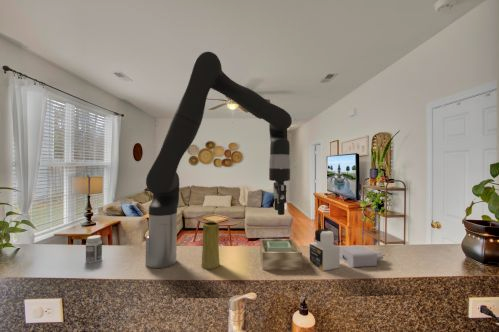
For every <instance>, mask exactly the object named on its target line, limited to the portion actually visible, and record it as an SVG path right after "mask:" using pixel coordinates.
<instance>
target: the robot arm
mask: <svg viewBox="0 0 499 332" xmlns="http://www.w3.org/2000/svg"><path fill="white" fill-rule="evenodd" d="M222 69H223V67H222V63H221V60H220V59H219V56H217V54H216V53H214V52H212V51H205V52H201V53H200V54H199V55H198V56H197V57H196V58H195V60H194V62H193V67H192V69H191V73H190V77H189V80H188V83H187V86H186V88H185V91H184V93H183V95H182V97H181V99H180V101H179V104H178V106H177V108H176V111H175V113H174V115H173V117H172V120H171V122H170V125H169V128H168V130H167V133H166V135H165V138H164V140H163V142H162V146H161V148H160V151H159V153H158V155H157V157H156V158H155V160H154V162H153V164H152V166H151V168H150V169H149V171H148V173H147V175H146V179H145V185H146V188H147V190H148V191H149V192H150V193H151V194H152V200H151V202H150V204H149V206H148V235H147V236H146V238H145V267H150V268H153V269H164V268H167V267H171V266H173V265H174V264H176V262H177V249H178V248H177V247H178V245H177V244H178V243H177V238H178V237H177V236H178V207H179V206H178V205H179V201H180V177H179V173H178V172H177V170H178V167H179V164H180V162H181V160H182V158H183V156H184V155H185V154H186V152H187V151H188V150H189V148H190V146H191V145H192V144H193V142H194V140H195V139H196V137H197V134H198V133H199V129H200V127H201V125H202V121H203V118H204V115H205V114H204V113H205V108H206V102H207V98H208V95H209V92H210V90H211V89H212V90H214V91H216V92H218V93H219V94H222V95H223V96H225V97H227V98H229V99H230V100H231V101H233V102H234V103H236V104H237V105H239V106H240V107H241V108H242V109H244V110H246V112H248V113H249V114H251V115H253V116H254V117H255V118H257V119H259V120H260V119H261V120H264V121H265V122H267V123H268V125H269V127H268V129H269V139H270V140H269V141H270V145H269V146H270V147H269V154H270V155H269V162H268V163H269V167H268V168H269V169H268V172H269V173H268V177H269V178H268V180H269V181H273V186H272V187H273V200H274V210H275V211H277V215H279V216H284V215H285V204H286V203H287V185H286V184H285V182H289V181H290V180H291V157H290V151H291V149H290V147H291V146H290V141H289V139H288V129H290V127H291V125H292V123H293V119H292V116H291V114H290V113H289V112H288V111H287V110H285V109H284V108H282V107H281V106H278V105H276V104H274V103H272V102H269V101H268V100H267V99H266V98H264V97H263V96H262V95H260V94H259V93H257V92H256V91H254V90H252V89H250V88H248V87H246V86H244V85H241V84H239V83H238V82H236V81H234V80H232V78H230V77H229V76H228V75H227V74H225V72H224V71H223V70H222Z"/></svg>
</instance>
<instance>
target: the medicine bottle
mask: <svg viewBox="0 0 499 332" xmlns="http://www.w3.org/2000/svg"><path fill="white" fill-rule="evenodd" d="M314 233H315V236H314V242H313V241H312V242H310V243H309V263H310V264H312V265H313V266H314V267H316V269H319V270H320V271H322V272H324V271H330V270H335V269H340V266H341V265H340V260H341V259H340V248H339V247H340V246H339V245H336V244H334V243H335V242H334V240H335V239H334V238H335V237H334V231H332V230H329V229H326V228H320V229H316V230H315V232H314Z"/></svg>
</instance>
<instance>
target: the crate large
mask: <svg viewBox="0 0 499 332" xmlns="http://www.w3.org/2000/svg"><path fill="white" fill-rule="evenodd" d="M267 242H289V244H290V245H291V247H292V252H267ZM259 257H260V262H261V268H262V271H265V270H266V271H267V270H270V271H271V270H273V271H274V270H276V271H277V270H280V271H281V270H283V271H284V270H285V271H286V270H288V271H289V270H290V271H291V270H295V271H298V270H303V252H302V250H301V249H300V247H299V246H298V244H297V242H296V241H295V240H294V239H293V238H259Z"/></svg>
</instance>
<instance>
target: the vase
mask: <svg viewBox="0 0 499 332" xmlns="http://www.w3.org/2000/svg"><path fill="white" fill-rule="evenodd" d="M202 225H203V227H202V228H203V229H202V248H201V249H202V250H201V251H202V253H201V268H203V269H205V270H212V269H213V270H214V269H216V268H218V267H219V266H220V248H219V243H220V242H219V241H220V240H219V238H220V236H219V231H220V228H219V227H220V223H219V222H217V221H207V222H203V224H202Z"/></svg>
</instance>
